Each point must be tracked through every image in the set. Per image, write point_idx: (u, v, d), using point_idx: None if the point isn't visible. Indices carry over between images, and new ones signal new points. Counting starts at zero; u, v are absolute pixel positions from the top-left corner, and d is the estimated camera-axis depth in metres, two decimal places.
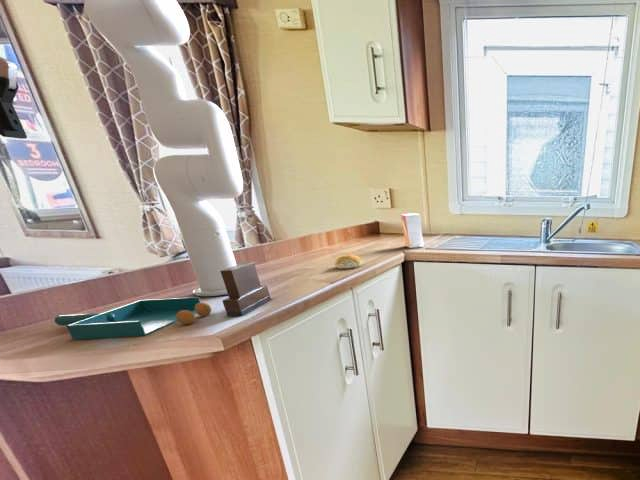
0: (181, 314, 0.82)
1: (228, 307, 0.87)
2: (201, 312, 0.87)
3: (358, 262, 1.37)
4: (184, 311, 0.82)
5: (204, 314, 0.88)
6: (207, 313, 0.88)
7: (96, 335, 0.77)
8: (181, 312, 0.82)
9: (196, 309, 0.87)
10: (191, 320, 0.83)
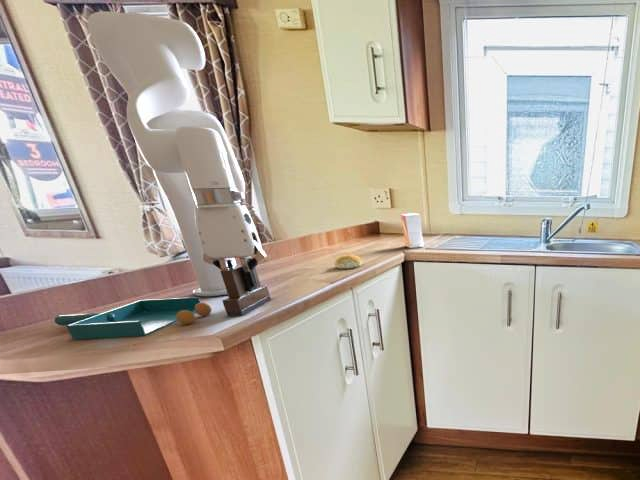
0: (181, 314, 0.82)
1: (228, 307, 0.87)
2: (201, 312, 0.87)
3: (358, 262, 1.37)
4: (184, 311, 0.82)
5: (204, 314, 0.88)
6: (207, 313, 0.88)
7: (96, 335, 0.77)
8: (181, 312, 0.82)
9: (196, 309, 0.87)
10: (191, 320, 0.83)
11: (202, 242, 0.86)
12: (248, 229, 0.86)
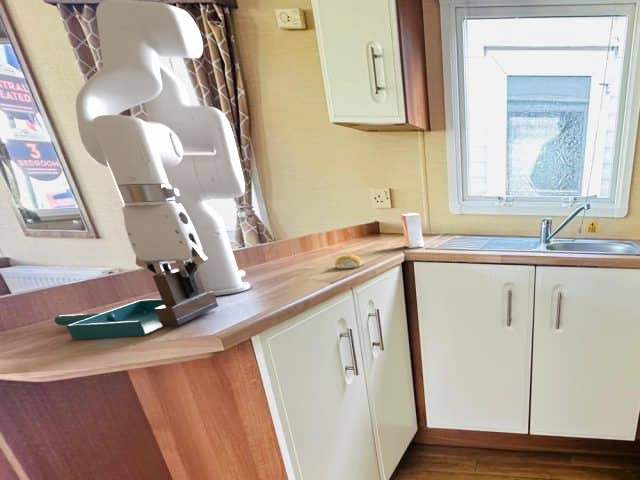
0: None
1: (162, 316, 0.79)
2: None
3: (358, 262, 1.37)
4: None
5: None
6: None
7: (96, 335, 0.77)
8: None
9: None
10: None
11: (132, 244, 0.77)
12: (184, 229, 0.78)
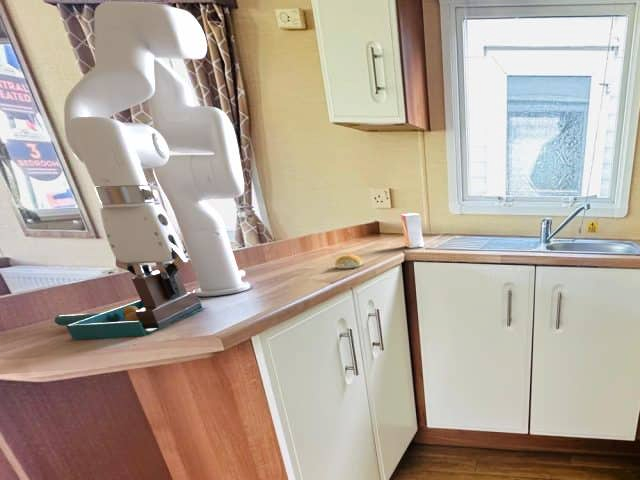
0: (127, 316, 0.81)
1: (142, 319, 0.79)
2: (124, 313, 0.86)
3: (358, 262, 1.37)
4: (130, 313, 0.81)
5: (123, 310, 0.86)
6: None
7: (96, 335, 0.77)
8: (127, 314, 0.81)
9: None
10: None
11: (112, 246, 0.77)
12: (163, 231, 0.78)
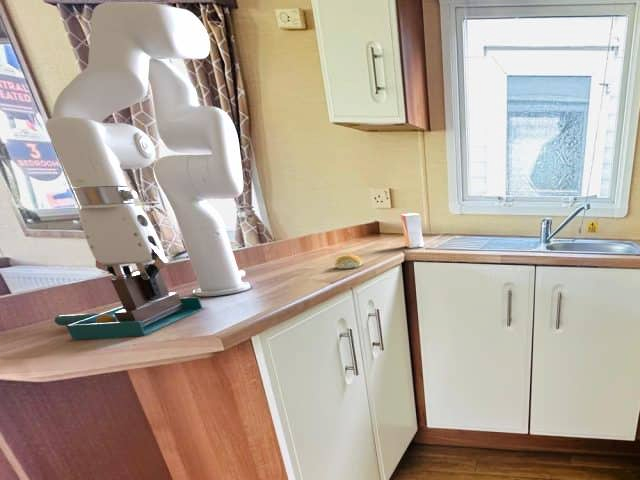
0: None
1: (122, 320, 0.78)
2: None
3: (358, 262, 1.37)
4: None
5: None
6: None
7: (96, 335, 0.77)
8: None
9: None
10: None
11: (91, 247, 0.77)
12: (143, 232, 0.78)
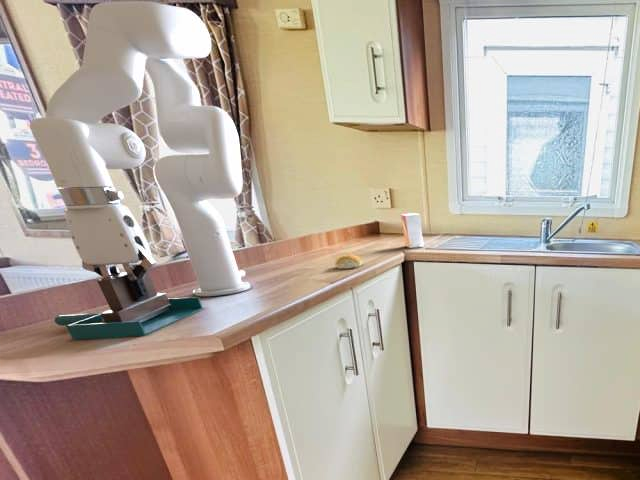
0: None
1: (108, 320, 0.78)
2: None
3: (358, 262, 1.37)
4: None
5: None
6: None
7: (96, 335, 0.77)
8: None
9: None
10: (102, 319, 0.81)
11: (77, 247, 0.77)
12: (129, 233, 0.78)
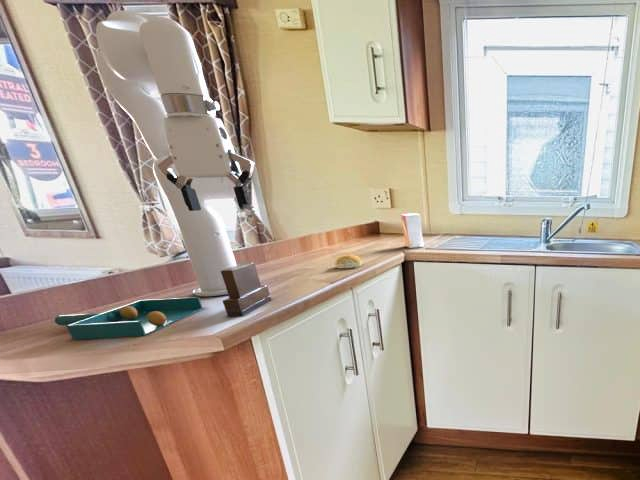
0: (156, 324, 0.82)
1: (228, 307, 0.87)
2: (121, 314, 0.86)
3: (358, 262, 1.37)
4: (159, 325, 0.82)
5: (120, 311, 0.86)
6: None
7: (96, 335, 0.77)
8: None
9: (127, 315, 0.86)
10: None
11: (174, 158, 0.79)
12: (224, 144, 0.80)
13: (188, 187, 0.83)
